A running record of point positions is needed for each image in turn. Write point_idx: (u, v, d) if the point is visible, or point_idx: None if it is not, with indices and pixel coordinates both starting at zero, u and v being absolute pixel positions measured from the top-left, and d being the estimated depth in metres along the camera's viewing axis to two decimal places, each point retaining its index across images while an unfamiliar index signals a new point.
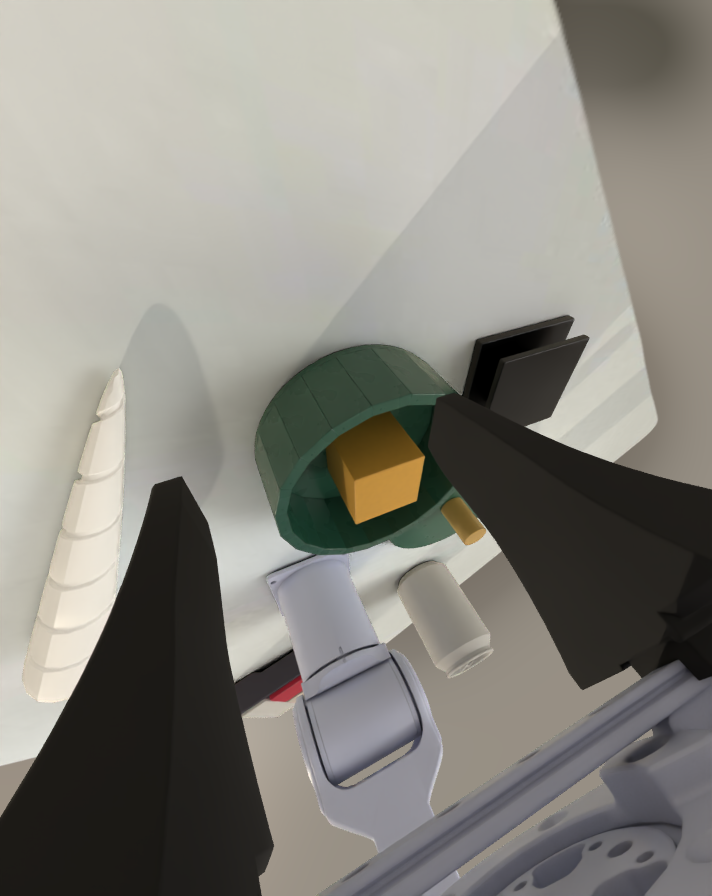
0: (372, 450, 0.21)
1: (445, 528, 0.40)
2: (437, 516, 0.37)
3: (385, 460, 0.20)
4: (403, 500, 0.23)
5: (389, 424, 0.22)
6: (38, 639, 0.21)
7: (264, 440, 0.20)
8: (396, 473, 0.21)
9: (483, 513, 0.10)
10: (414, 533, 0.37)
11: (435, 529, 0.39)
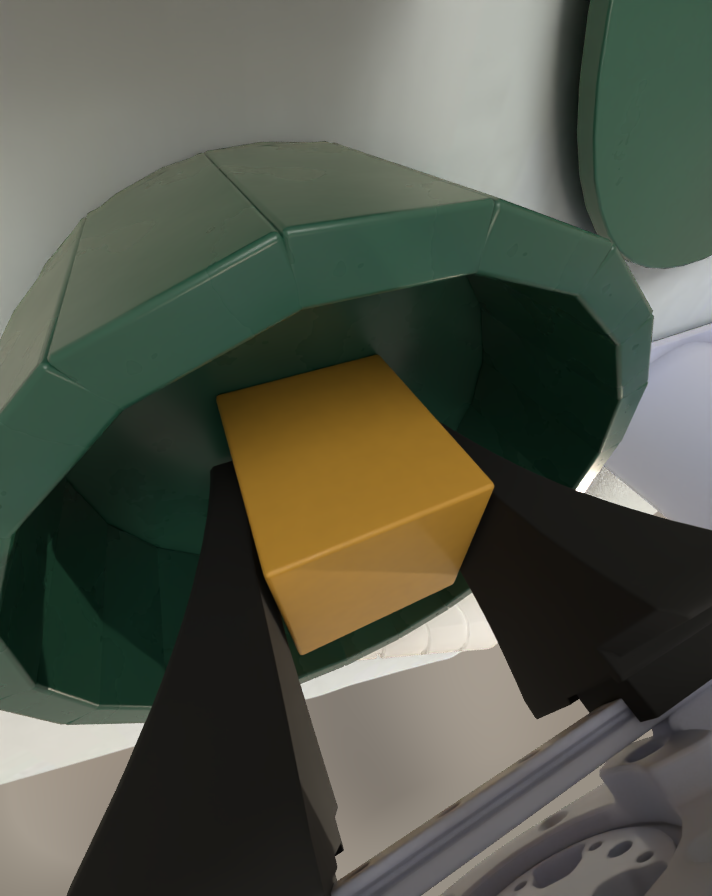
0: None
1: None
2: None
3: None
4: (454, 530, 0.07)
5: None
6: None
7: None
8: (316, 605, 0.07)
9: None
10: None
11: None
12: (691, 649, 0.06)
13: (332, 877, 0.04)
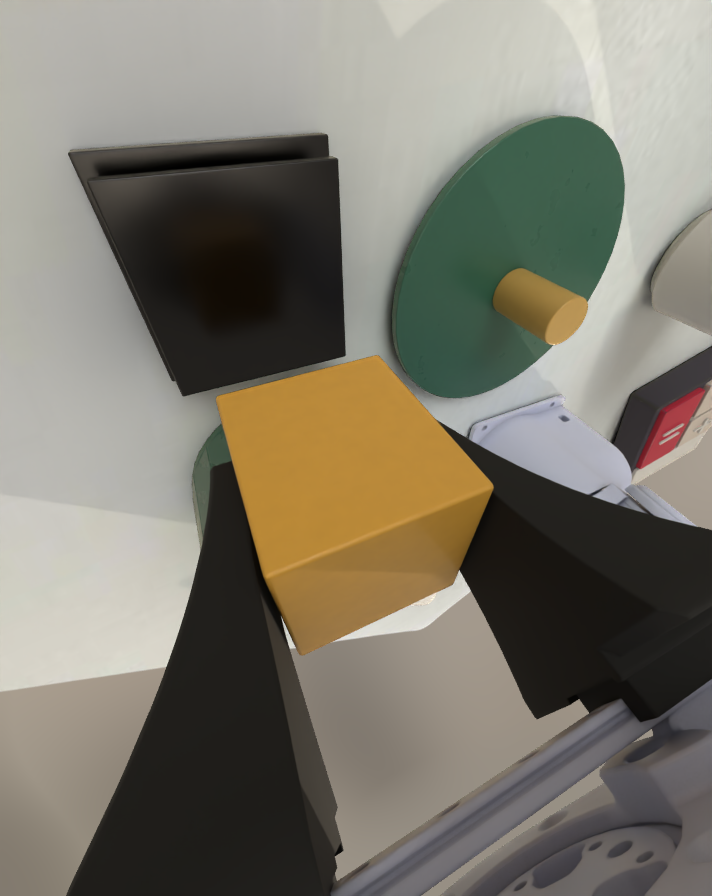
0: None
1: (575, 272, 0.21)
2: None
3: None
4: (454, 531, 0.07)
5: None
6: None
7: None
8: (316, 605, 0.07)
9: None
10: (527, 343, 0.24)
11: None
12: (691, 649, 0.06)
13: (332, 877, 0.04)
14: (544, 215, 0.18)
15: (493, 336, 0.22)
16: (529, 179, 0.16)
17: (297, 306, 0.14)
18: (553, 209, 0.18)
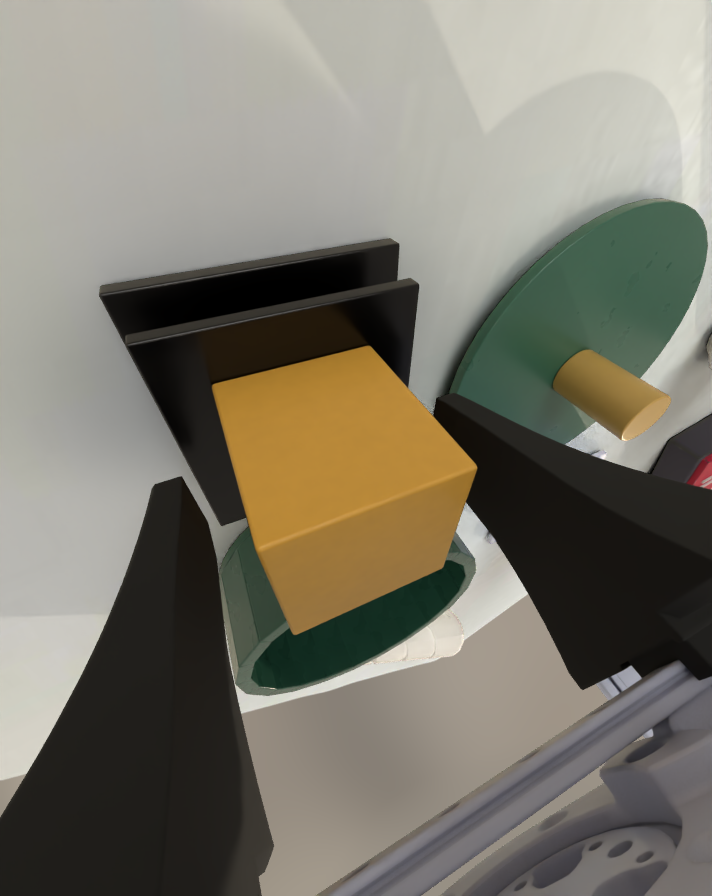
0: None
1: (640, 346, 0.19)
2: None
3: None
4: (440, 511, 0.08)
5: None
6: None
7: None
8: (307, 582, 0.07)
9: (483, 513, 0.10)
10: (580, 414, 0.22)
11: None
12: None
13: None
14: (619, 298, 0.16)
15: (548, 413, 0.20)
16: (610, 266, 0.14)
17: None
18: (629, 291, 0.16)
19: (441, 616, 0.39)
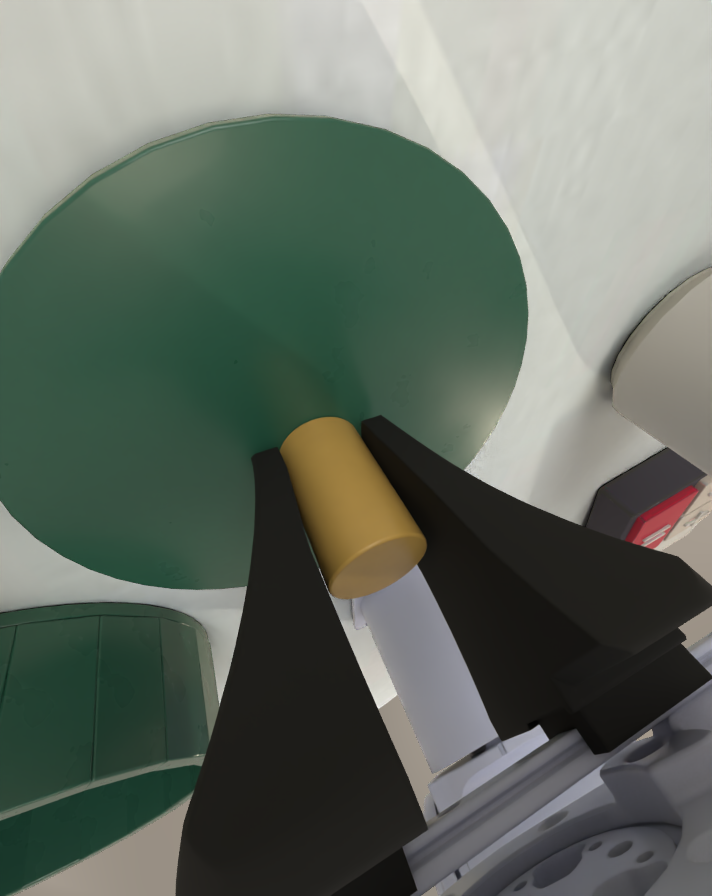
0: None
1: (454, 400, 0.12)
2: None
3: None
4: None
5: None
6: None
7: None
8: None
9: None
10: None
11: (428, 438, 0.12)
12: (649, 677, 0.06)
13: None
14: (336, 330, 0.08)
15: None
16: (251, 270, 0.07)
17: None
18: (355, 318, 0.08)
19: None
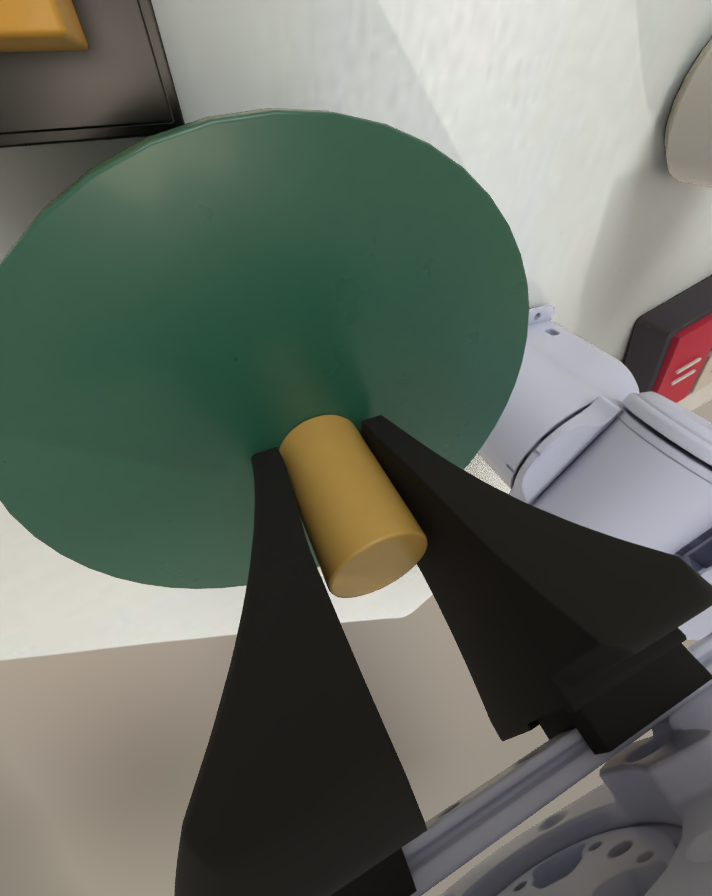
0: None
1: (454, 399, 0.12)
2: None
3: None
4: None
5: None
6: None
7: None
8: None
9: None
10: None
11: (428, 437, 0.12)
12: (649, 677, 0.06)
13: None
14: (336, 328, 0.08)
15: None
16: (251, 266, 0.07)
17: None
18: (355, 315, 0.08)
19: None
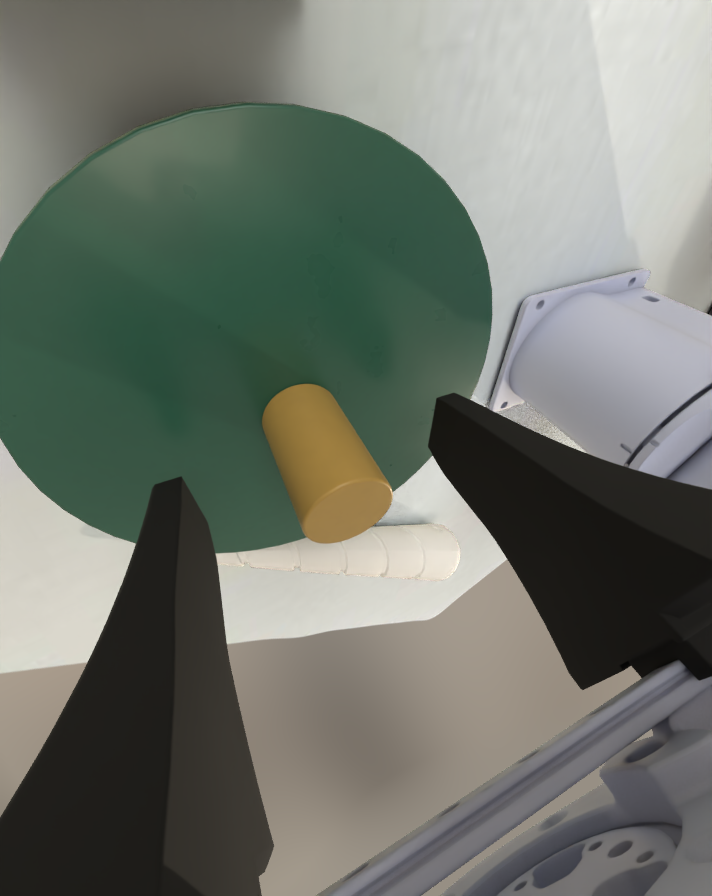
0: None
1: (427, 373, 0.12)
2: None
3: None
4: None
5: None
6: None
7: None
8: None
9: (483, 513, 0.10)
10: None
11: (404, 410, 0.13)
12: None
13: None
14: (310, 300, 0.09)
15: None
16: (230, 241, 0.07)
17: None
18: (327, 289, 0.09)
19: (432, 529, 0.31)
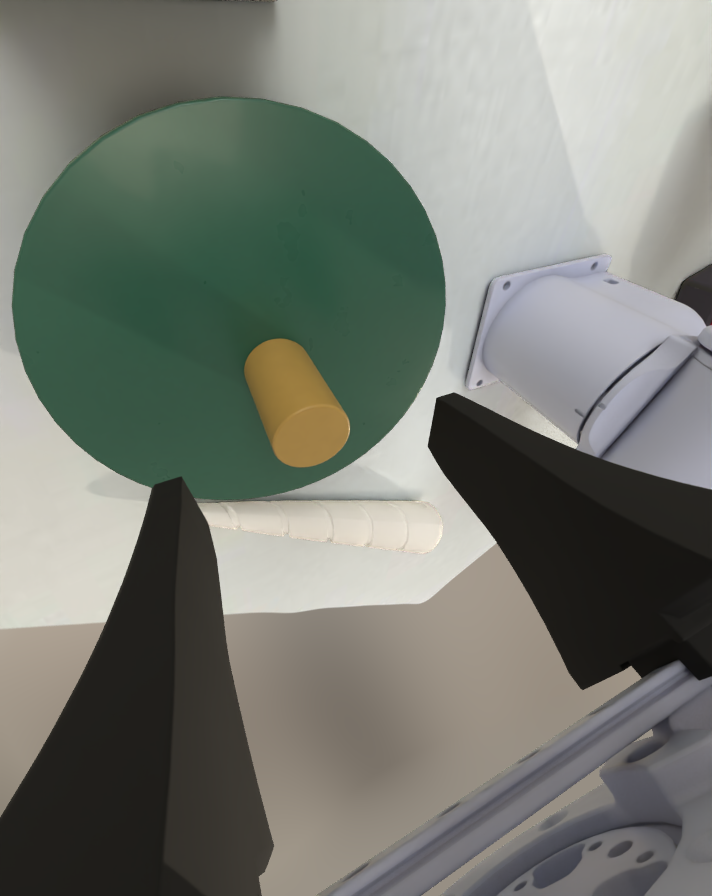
0: None
1: (390, 335, 0.14)
2: None
3: None
4: None
5: None
6: None
7: None
8: None
9: (483, 513, 0.10)
10: (350, 425, 0.17)
11: (372, 370, 0.15)
12: None
13: None
14: (281, 262, 0.11)
15: None
16: (212, 208, 0.09)
17: None
18: (295, 253, 0.11)
19: (416, 504, 0.33)
